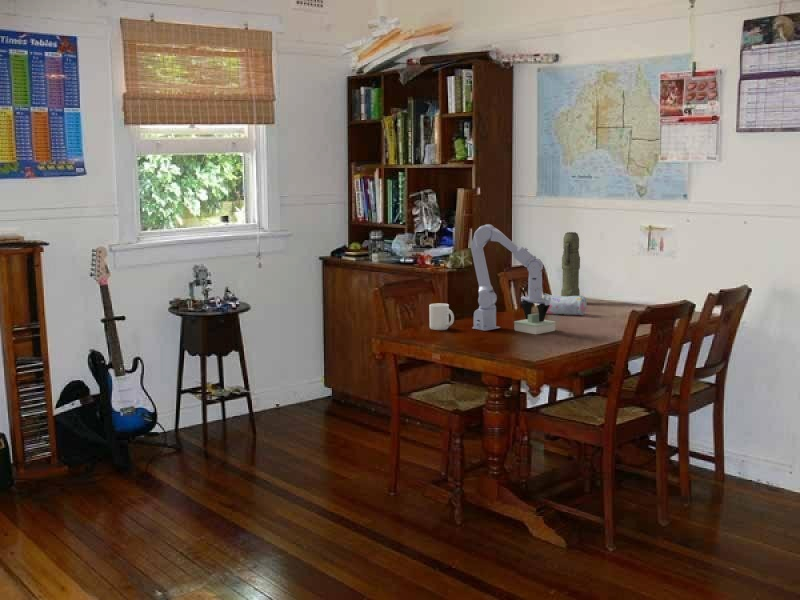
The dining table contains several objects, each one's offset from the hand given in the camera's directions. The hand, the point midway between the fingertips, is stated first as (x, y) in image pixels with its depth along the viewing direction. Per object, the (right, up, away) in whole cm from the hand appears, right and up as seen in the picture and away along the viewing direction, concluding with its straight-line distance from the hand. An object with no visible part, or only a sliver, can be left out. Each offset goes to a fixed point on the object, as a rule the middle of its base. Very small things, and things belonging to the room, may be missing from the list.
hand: (534, 320), depth 391 cm
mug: (-38, -4, +7) cm, 39 cm away
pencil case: (+19, +2, +39) cm, 43 cm away
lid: (0, -1, 0) cm, 1 cm away
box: (0, -4, +1) cm, 4 cm away
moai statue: (+27, +7, +69) cm, 74 cm away
